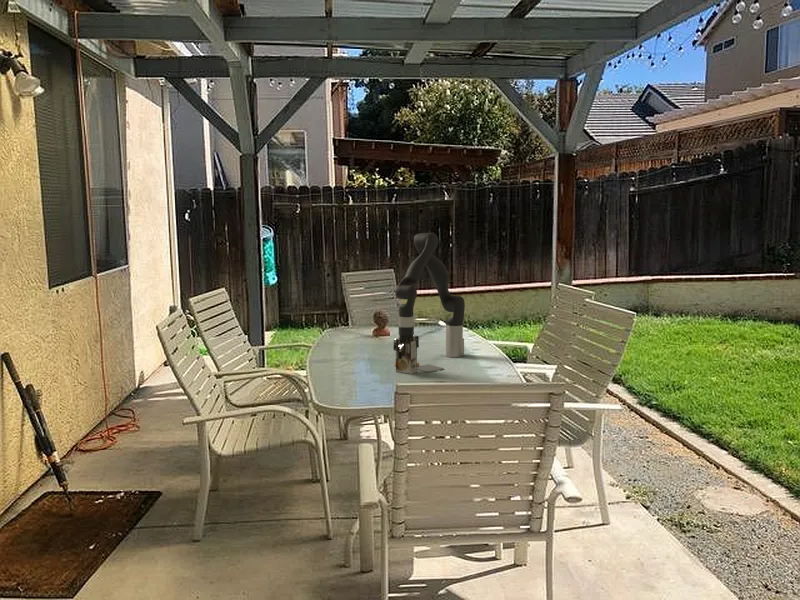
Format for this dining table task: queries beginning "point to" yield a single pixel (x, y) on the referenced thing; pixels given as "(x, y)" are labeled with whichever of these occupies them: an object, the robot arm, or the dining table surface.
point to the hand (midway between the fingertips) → (406, 357)
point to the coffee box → (407, 357)
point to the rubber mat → (428, 368)
